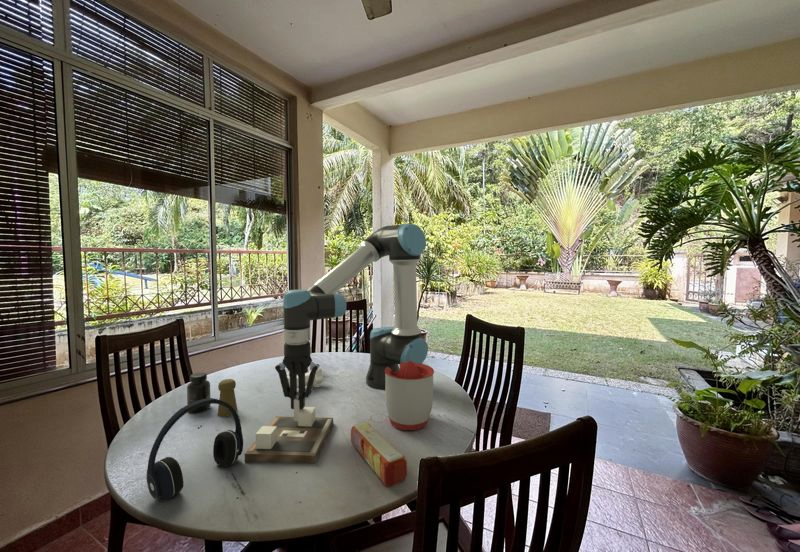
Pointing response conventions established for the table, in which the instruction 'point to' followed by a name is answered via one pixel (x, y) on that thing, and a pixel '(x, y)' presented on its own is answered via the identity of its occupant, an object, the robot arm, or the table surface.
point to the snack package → (379, 454)
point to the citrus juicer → (409, 395)
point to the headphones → (167, 471)
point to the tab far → (306, 416)
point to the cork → (227, 397)
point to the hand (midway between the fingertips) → (298, 419)
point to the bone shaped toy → (317, 379)
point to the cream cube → (266, 437)
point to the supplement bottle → (198, 391)
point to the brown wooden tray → (293, 442)
